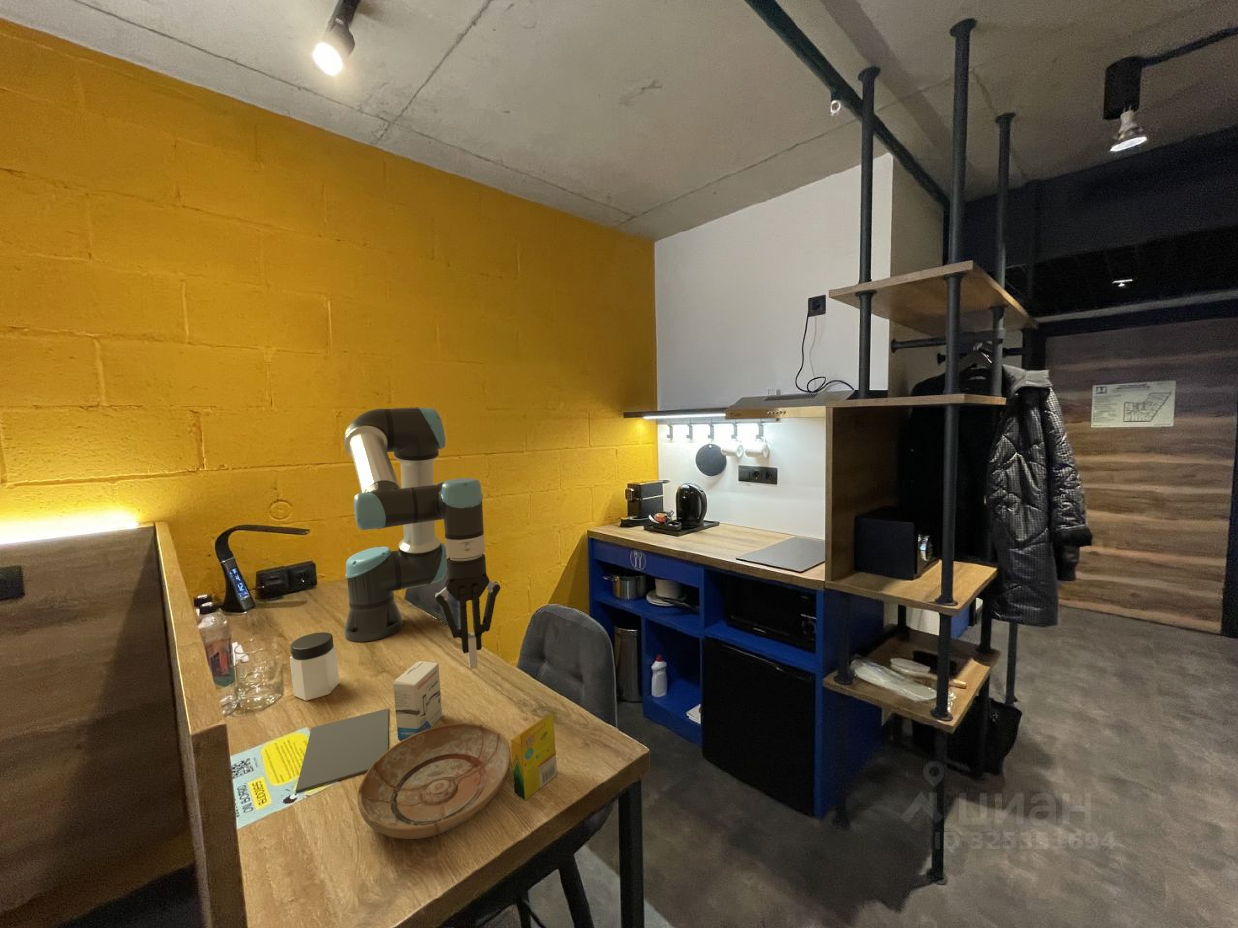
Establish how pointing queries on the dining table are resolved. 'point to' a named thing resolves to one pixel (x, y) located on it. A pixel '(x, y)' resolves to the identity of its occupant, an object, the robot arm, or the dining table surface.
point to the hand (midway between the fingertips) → (472, 665)
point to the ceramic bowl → (434, 780)
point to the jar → (314, 666)
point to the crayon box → (534, 757)
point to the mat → (343, 749)
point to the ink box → (417, 699)
